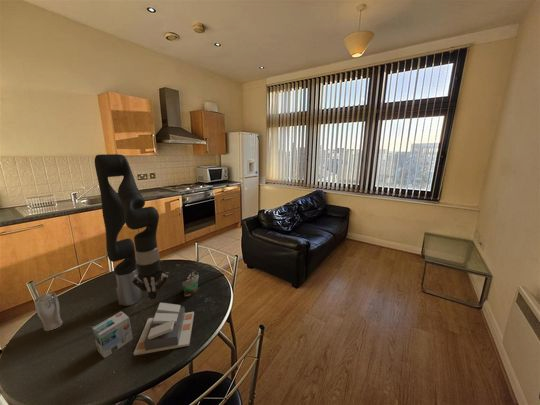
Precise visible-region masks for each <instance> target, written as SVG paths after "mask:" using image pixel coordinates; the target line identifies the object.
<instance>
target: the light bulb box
mask: <svg viewBox="0 0 540 405" xmlns="http://www.w3.org/2000/svg"><path fill="white" fill-rule="evenodd" d="M131 326H132V325H131V321H130V316H128V315H127V314H126V313H124V312H123V311H119V312H118V313H115V314H114V315H113V316H111V317H109V318H106V319H105V320H104V321H102V322H100V323H98V324H96V325H95V326H93V327H92V333H93V336H94V337H93V338H94V341H95V346H96V347H95V348H96V351H98V353H99V355H101V356H102V358H104V359H105V358H108V357H109V356H110V355H111V354H113V353H115V352H116V351H118V350H119V349H120V348H122V347H123V346H125V345H127V344H128V343H130V342H131V341H133V333H132V327H131Z"/></svg>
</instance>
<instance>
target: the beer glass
mask: <svg viewBox="0 0 540 405" xmlns="http://www.w3.org/2000/svg"><path fill="white" fill-rule="evenodd" d="M34 307H35V311H36V314H37V316H38V318H39V319H40V320H41V322H42V324H43V331H44V330H45V331H49V330H53V329H56V328H58V327H59V328H60V327H62V326H63V324H64V322H63V320H62V318H61V315H60V302H59V299H58V296H57V294H56V293H55V292H48V293H47V292H46V293H45V294H42V295H39V296H37V297H36V298H35V299H34ZM62 323H63V324H62ZM59 328H58V329H59ZM56 330H57V329H56ZM45 331H44V332H45Z"/></svg>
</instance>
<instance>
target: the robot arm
mask: <svg viewBox="0 0 540 405" xmlns="http://www.w3.org/2000/svg"><path fill="white" fill-rule="evenodd" d="M94 167H95V173H96V177H97V178H96V179H97V181H98V182H97V183H98V186H99V191H100V198H101V199H100V202H101V212H102V218H103V224H104V231H105V241H106V242H105V243H106V246H105V248H106V255H107V257H108V260H109V261H110V262H112V263H115V262H119V261H121V262H119V263H118V264H117V265H116V266H115V267H114V275H115V279H116V280H115V281H116V284H117V286H116V288H115V290H116V296H117V300H118V305H120V306H126V307H127V306H132V305H134V304H136V303H138V302H140V300H141V299H142V292H146V291H147V293H148V298H149V299H150V300H156V299H157V297H158V290H160V289H161V288H162V287H163V285H164V284H165V283H166V282H167V280H168V279H169V274H168V273H166V274H165V273H163V270H162V269H161V261H160V252H159V249H158V243H157V230H158V225H159V222H160V221H159V220H160V219H159V218H160V214H159V212H158V210H157V208H155V207H154V206H146V207H145V204H146V202H145V199H144V197H143V194H142V193H141V191H140V189H139V188H138V185H137V184H136V181H135V177H134V174H133V171H132V168H131V166H130V163H129V160H128V158H126V156H125V155H123V154H119V153H118V154H117V153H115V154H114V153H113V154H110V153H109V154H108V153H107V154H96V155H95V157H94ZM115 177H116V178H117V177H123V179H122V180H121V182H120V184H119V185H118V189H117V191H116V190H115V189H114V187H113V186H111V183H110V181H109V178H115ZM125 225H126V227H127V228H128V229H131V230H139V229H144V228H145V229H144V230H142V231H140V232H138V233H137V234H135V235H134V237H133V240H132V239H131V238H124V239H120V240H118V236H119V234H120V232H121V231H122V229H123V227H124V226H125ZM160 278H161V279H160ZM159 280H161V281H159ZM158 282H159V283H158Z"/></svg>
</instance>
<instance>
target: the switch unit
mask: <svg viewBox="0 0 540 405" xmlns="http://www.w3.org/2000/svg"><path fill="white" fill-rule="evenodd" d="M185 310H186V309H185V306H184V305H183V306H180V310H179V314H178V318H177V322H176V324H174V326H173V330H172V331H170V332H168V333H165V334H163V335H160V336H157V337H155V338H152V339H150V340H149V339H148V335H149V333H150V330H151V328H154V327H156V326H159V325H162V324H164V323H153V319H154V317H155V314H156V313H163V312H157V310H155V313H154V315H153V317H149V318H147V321H146V323H145V326H144V328H143V330H142V332H141V335H140V337H139V340H138V342H137V344H136V347H135V349H134V352H133V356H140V355H146V354H151V353H157V352H161V351H165V350H166V351H167V350H172V349H177V348H183V347H188V346H190V343H191V337H192V328H193V323H194V316H195V311H191V312H190V311H189V312H186V311H185Z"/></svg>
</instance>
